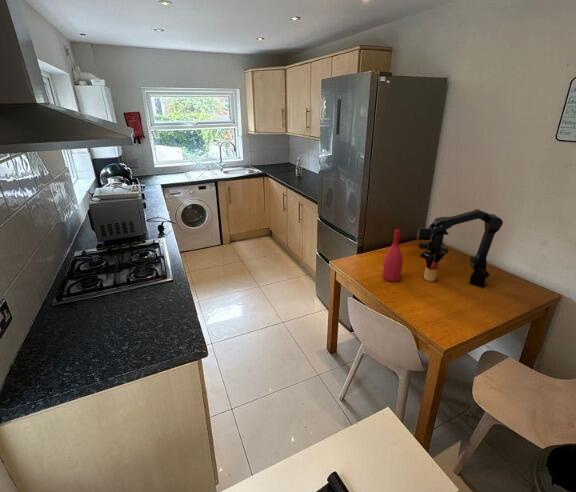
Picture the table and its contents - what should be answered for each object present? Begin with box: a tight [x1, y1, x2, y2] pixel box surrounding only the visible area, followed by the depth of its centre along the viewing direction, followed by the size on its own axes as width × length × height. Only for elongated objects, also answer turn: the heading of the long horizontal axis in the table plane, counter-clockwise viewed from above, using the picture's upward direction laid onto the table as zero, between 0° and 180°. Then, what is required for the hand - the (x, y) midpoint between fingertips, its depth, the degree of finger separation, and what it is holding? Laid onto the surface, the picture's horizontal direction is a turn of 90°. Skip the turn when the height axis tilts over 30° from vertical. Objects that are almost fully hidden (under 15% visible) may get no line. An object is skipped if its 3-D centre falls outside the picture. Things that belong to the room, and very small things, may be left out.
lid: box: [424, 262, 440, 270], centre depth 169 cm, size 7×7×2 cm
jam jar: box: [423, 266, 439, 282], centre depth 171 cm, size 6×6×9 cm
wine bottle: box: [382, 228, 404, 283], centre depth 167 cm, size 10×10×30 cm
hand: (431, 266), depth 169 cm, fingers closed on lid, 6 cm apart
